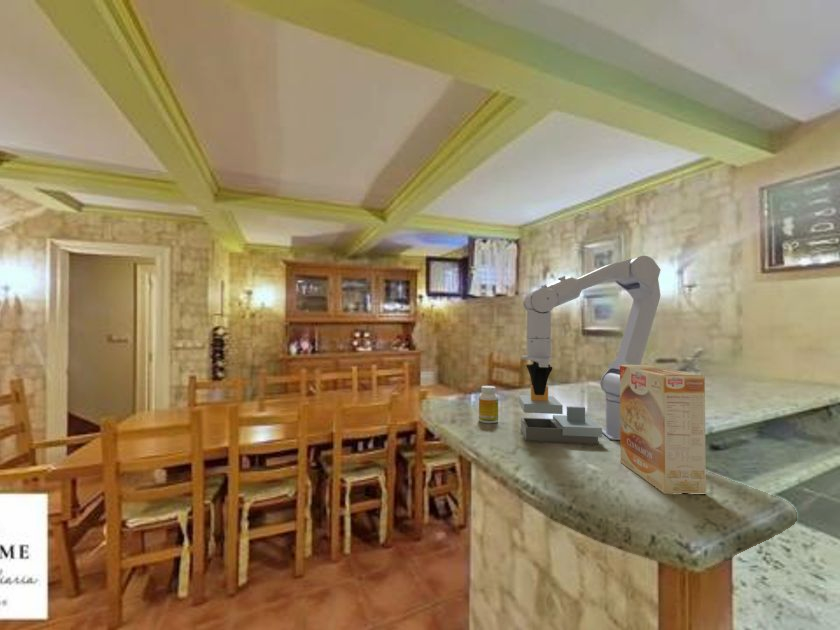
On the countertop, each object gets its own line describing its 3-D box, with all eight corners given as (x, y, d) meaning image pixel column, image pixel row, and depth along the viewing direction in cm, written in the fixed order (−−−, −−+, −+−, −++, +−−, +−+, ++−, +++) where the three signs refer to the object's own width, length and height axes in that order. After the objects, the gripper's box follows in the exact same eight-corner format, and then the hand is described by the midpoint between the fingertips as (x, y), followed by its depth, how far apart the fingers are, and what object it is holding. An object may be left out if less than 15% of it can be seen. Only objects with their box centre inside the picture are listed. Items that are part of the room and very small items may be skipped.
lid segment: (562, 435, 89) (562, 411, 89) (552, 422, 100) (552, 401, 100) (602, 437, 88) (602, 413, 88) (587, 424, 99) (587, 403, 99)
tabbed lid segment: (552, 404, 100) (552, 382, 100) (562, 414, 88) (562, 390, 89) (518, 402, 101) (518, 381, 101) (524, 412, 90) (524, 389, 90)
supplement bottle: (498, 424, 107) (498, 388, 107) (478, 423, 108) (478, 387, 108) (498, 419, 112) (498, 385, 112) (479, 418, 113) (479, 384, 113)
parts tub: (585, 432, 99) (585, 420, 99) (597, 444, 89) (597, 430, 89) (520, 429, 101) (520, 417, 101) (525, 441, 91) (526, 427, 91)
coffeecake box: (618, 462, 78) (618, 364, 78) (654, 462, 77) (654, 364, 78) (663, 494, 63) (662, 373, 63) (708, 495, 62) (707, 374, 63)
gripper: (518, 337, 103) (518, 388, 103) (525, 339, 89) (525, 399, 88) (546, 337, 102) (546, 389, 102) (557, 339, 88) (557, 400, 87)
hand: (538, 394), depth 95 cm, fingers closed on tabbed lid segment
